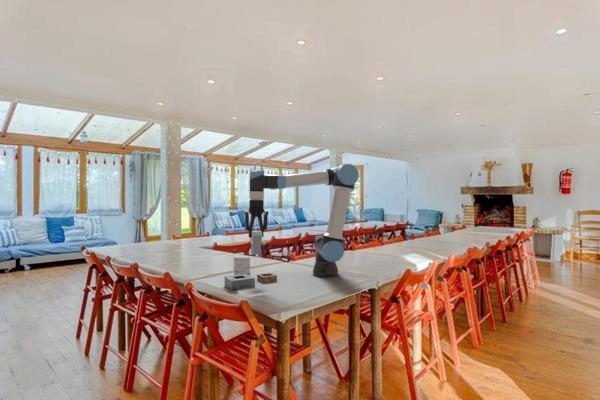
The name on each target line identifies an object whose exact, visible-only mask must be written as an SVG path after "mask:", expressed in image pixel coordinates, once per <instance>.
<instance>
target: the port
mask: <svg viewBox="0 0 600 400" xmlns="http://www.w3.org/2000/svg"><path fill="white" fill-rule="evenodd" d="M255 280H256V279H255V277H254V276H252V275H251V274H250V275H248V274H239V275H234V274H233V275H232V274H231V275H224V287H225V288H227V289H229V290H230V291H231V292H236V291H238V290H239V289H243V288H249V287H250V288H251V287H255V286H256V283H255V282H256V281H255Z"/></svg>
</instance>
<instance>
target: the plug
mask: <svg viewBox="0 0 600 400" xmlns="http://www.w3.org/2000/svg"><path fill="white" fill-rule="evenodd" d="M252 231H253V232H254V239H253V244H250V249H251V251H250V254H251V255H254V256H255V255H262V244H261V232H260V230H252Z"/></svg>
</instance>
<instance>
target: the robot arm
mask: <svg viewBox="0 0 600 400" xmlns="http://www.w3.org/2000/svg"><path fill="white" fill-rule="evenodd" d="M359 175H360V174H359V171H358V168H357V167H356V166H355V165H353V164H352V163H351V164H350V163H343V164H341V165H338V166H335V167H332V168H325V169H324V171H322V170H321V171H312V172H311V171H310V172H303V173H302V172H301V173H292V174H265V172H264V171H263V170H250V172H249V195H248V196H249V197H248V198H249V199H250V200H249V203H248V204H249V205H248V206H249V207H248V208H249V209H248V210H247V211H244V212H243V215H244V228H245V229H244V230H245V231H248V238H249V244H250V245H251V244H253V239H254V232H253V231H254V230H253V229H254V224H255V219H256V218H257V220H258V227H259V231H260V232H261V245H262V244H263V237H264V232H265V231H267V230H268V216H269V214H270V213H269V211H267V210H265V209H264V206H265V205H264V196H265V195H264V193H265V192H264V190H265V189H268V190H269V189H270V190H272V191H273V190H283V189H288V188H289V189H291V188H298V187H309V186H317V185H319V186H320V185H326V186H332V187H333V189H334V192H333V198H332V203H331V209H330V213H329V219H328V223H327V228H326V232H325V233H324V234H323V235H317V236H315V238H314V239H315V240H314V243H315V245H314V246H315V249H314V250H315V262H314V264H313V270H312V276H314V277H319V278H332V277H336V276H338V275H339V270H338V265H337V263H336V262H338V261H340V260H341V259H342V258H343V256H344V255H345V247H344V241H345V238H344V237H343V231H344V227H345V221H346V215H347V211H348V206H349V201H350V195H351V193H352V192H353V191H354V189H355V185H356V183H357V181H358V179H359ZM262 215H263V216H262ZM249 217H250V218H249Z"/></svg>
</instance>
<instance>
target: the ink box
mask: <svg viewBox="0 0 600 400" xmlns="http://www.w3.org/2000/svg"><path fill="white" fill-rule="evenodd" d="M239 274H248V275H250V276H251V257H250V256H234V257H233V275H239Z"/></svg>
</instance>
